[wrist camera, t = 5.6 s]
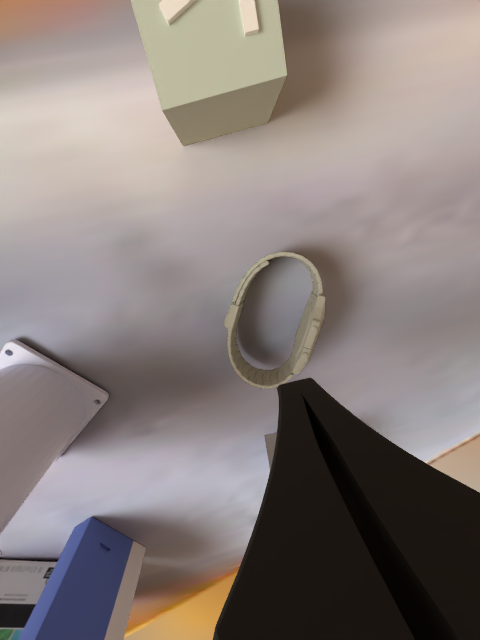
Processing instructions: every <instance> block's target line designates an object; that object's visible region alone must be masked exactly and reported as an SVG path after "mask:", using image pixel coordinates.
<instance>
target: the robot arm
mask: <svg viewBox="0 0 480 640" xmlns="http://www.w3.org/2000/svg"><path fill="white" fill-rule="evenodd" d="M10 350H11V351H12V352H13V353H12V352H11V351H10ZM277 390H278V396H279V417H278V429H277V437H276V443H275V450H274V456H273V461H272V466H271V470H270V474H269V479H268V483H267V486H266V490H265V494H264V497H263V501H262V504H261V508H260V511H259V514H258V517H257V521H256V523H255V526H254V529H253V532H252V535H251V538H250V540H249V543H248V546H247V549H246V552H245V555H244V558H243V560H242V563H241V565H240V568H239V571H238V573H237V576H236V578H235V580H234V583H233V585H232V588H231V590H230V593H229V595H228V598H227V600H226V602H225V604H224V607H223V609H222V612H221V614H220V617H219V619H218V622H217V624H216V627H215V632H214V637H213V640H480V493H479V492H477V491H476V490H474V489H471V488H470V487H468V486H466V485H464V484H462V483H461V482H459V481H457V480H455V479H453V478H451V477H449V476H448V475H446V474H444V473H442V472H440V471H438V470H437V469H435V468H433V467H431V466H430V465H428V464H426V463H425V462H423V461H421V460H419V459H418V458H416V457H414V456H413V455H411V454H409V453H408V452H406V451H405V450H403V449H402V448H400V447H398V446H397V445H395V444H394V443H392V442H391V441H389V440H388V439H386V438H385V437H383V436H382V435H380V434H379V433H377V432H376V431H375V430H373V429H372V428H371V427H369V426H368V425H366V424H365V423H364V422H362V421H361V420H360V419H358V418H357V417H356V416H354V415H353V414H352V413H351V412H350V411H348V410H347V409H346V408H345V407H343V406H342V405H341V404H340V403H338V402H337V401H336V400H335V399H334V398H333V397H332V396H330V395H329V394H328V393H327V392H326V391H325V390H324V389H323V388H322V387H321V386H320V385H318V384H317V383H316V382H315V381H314V380H313V379H312V378H307V379H302V380H298V381H294V382H289V383H285V384H281V385H279V386H278V387H277ZM108 398H109V394H108V393H107V392H106V391H104V390H103V389H101V388H99V387H97V386H96V385H94V384H92V383H91V382H89V381H87V380H85V379H84V378H82V377H80V376H78V375H77V374H75V373H73V372H72V371H70V370H68V369H66V368H65V367H63V366H61V365H59V364H58V363H56V362H54V361H53V360H51V359H49V358H47V357H46V356H44V355H42V354H40V353H39V352H37V351H35V350H34V349H32V348H30V347H28V346H27V345H25V344H23V343H21V342H20V341H18V340H10V341H8V342H7V343H6V344H5V345H4V347H3V349H2V350H1V352H0V534H1V533H2V531H3V530H4V529H5V527H6V526H7V525H8V523H9V522H10V520H11V519H12V518H13V516H14V515H15V514H16V512H17V511H18V509H19V508H20V507H21V505H22V504H23V503H24V501H25V500H26V498H27V497H28V496H29V494H30V493H31V492H32V490H33V489H34V487H35V486H36V485H37V483H38V482H39V481H40V479H41V478H42V477H43V475H44V474H45V472H46V471H47V470H48V468H49V467H50V466H51V464H52V463H53V462H55V461H57V459H58V458H59V457H60V456H61V455H62V453H63V452H64V451H65V450H66V449H67V447H68V446H69V445H70V444H71V443H72V441H73V440H74V439H75V438H76V437H77V436H78V434H79V433H80V432H81V431H82V430H83V428H84V427H85V426H86V425H87V424H88V422H89V421H90V420H91V419H92V418H93V416H94V415H95V414H96V413H97V412H98V410H99V409H100V408H101V407H102V406H103V404H104V403H105V402H106V401H107V399H108ZM97 399H98V400H100V401H98V400H97ZM1 555H2V551H1V550H0V556H1Z"/></svg>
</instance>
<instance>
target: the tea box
mask: <svg viewBox="0 0 480 640" xmlns="http://www.w3.org/2000/svg"><path fill="white" fill-rule="evenodd" d="M56 564H57V562H41V561H21V560H3V559H0V640H18V639H19V637H20V635H21V633H22V631H23V629H24V627H25V625H26V623H27V621H28V619H29V618H30V616H31V614H32V612H33V610H34V608H35V606H36V604H37V602H38V600H39V598H40V596H41V594H42V592H43V590H44V588H45V586H46V584H47V582H48V580H49V578H50V576H51V574H52V572H53V570H54V568H55V566H56Z"/></svg>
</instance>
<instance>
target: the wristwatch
mask: <svg viewBox="0 0 480 640" xmlns="http://www.w3.org/2000/svg"><path fill="white" fill-rule="evenodd" d="M284 256H285V257H292V258H294V259H297V260H299V261H300V262H301V263H303V264H304V265H305V266H306V267H307V269H308V270H309V272H311V273H310V274H311V277H312V279H313V281H312V283H313V290H312V293H311V296H310V298H309V300H308V303H307V305H306V307H305V310H304V313H303V315H302V318H301V321H300V324H299V327H298V330H297V333H296V336H295V342H294V346H293V349H292V353H291V357H290V358H289V359H288V360H287V361H286V362H285V363H284V364H283V365H281V366H280V367H279V368H275V369H273V370H266V371H265V370H261V369H259V370H258V369H257V368H255V367H252V366H251V365H250V364H249V363H247V362H246V361H245V359H244V358H243V357H242V355H241V353H240V351H239V348H238V344H237V337H236V336H237V330H236V329H237V324H238V321H239V318H240V314H241V311H242V308H243V304H244V298H245V296H246V293H247V291H248V289H249V286H250V284H251V283H252V281H253V279H254V278H255V276H256V275H257V273H259V272H260V271H261V270H262V269H263V268H264V267H266V266H267V265H269V264H270V262H269V261H268V260H271V259H274V258H276V257H284ZM321 282H322V281H321V278H320V276H319V274H318V271H317V269H316V268H315V267H314V265H312V263H311V262H310V261H309V260H308V259H306V258H304V256H301V255H298V254H295V253H290V252H286V253H285V252H279V253H273V254H271V255H268V256H266V257H264V258H262V259H261V260H259V261H258V262H256V263H255V264H254V265H253V266H252V267H251V269H249V270H248V272H247V273H246V274H245V276H244V277H243V278H242V280H241V282H240V284H239V285H238V288H237V290H236V293H235V295H234V297H233V301H232V304H231V306H230V308H229V311H228V314H227V316H226V319H225V321H224V326H225V327H226V328H227V329H229V330H228V336H227V337H228V339H227V346H228V354H229V359H230V362H231V364H232V366H233V369H234V370H235V372H236V373H237V374H238V376H241V379H243V380H244V381H245V382H247V383H248V384H250V385H252V386H255V387H258V388H265V389H271V388H276V387H278V386H279V385H281V384H285V383H287V381H289V380H290V379H291V378H292V377H293V374H298V375H299V373H300V372H301V370H302V369H303V368H304V367H305V366H306V364H307V363H308V362H309V360H310V357H311V355H312V352H313V349H314V346H315V343H316V341H317V338H318V335H319V332H320V329H321V327H322V324H323V320H324V315H325V299H326V297H325V296H323V295H322V292H323V290H322V283H321Z"/></svg>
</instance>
